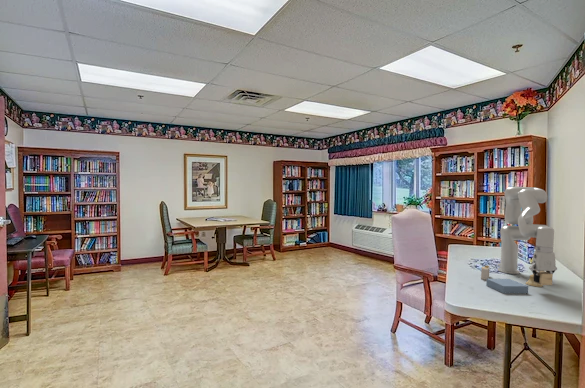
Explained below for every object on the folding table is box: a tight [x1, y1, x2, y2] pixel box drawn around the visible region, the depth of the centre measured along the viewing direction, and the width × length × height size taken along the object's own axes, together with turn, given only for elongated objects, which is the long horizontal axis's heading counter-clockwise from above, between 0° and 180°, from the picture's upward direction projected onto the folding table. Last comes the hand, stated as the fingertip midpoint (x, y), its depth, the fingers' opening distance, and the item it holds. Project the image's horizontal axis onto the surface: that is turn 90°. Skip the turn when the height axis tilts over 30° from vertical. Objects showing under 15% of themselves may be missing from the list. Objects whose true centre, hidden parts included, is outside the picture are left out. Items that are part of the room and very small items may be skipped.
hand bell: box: [525, 274, 544, 288], centre depth 193 cm, size 8×8×16 cm
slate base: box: [486, 278, 529, 294], centre depth 183 cm, size 14×14×4 cm
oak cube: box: [532, 271, 554, 286], centre depth 178 cm, size 6×6×6 cm
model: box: [480, 265, 491, 281], centre depth 206 cm, size 3×11×8 cm, turn 142°
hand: (542, 281), depth 178 cm, fingers closed on oak cube, 6 cm apart
